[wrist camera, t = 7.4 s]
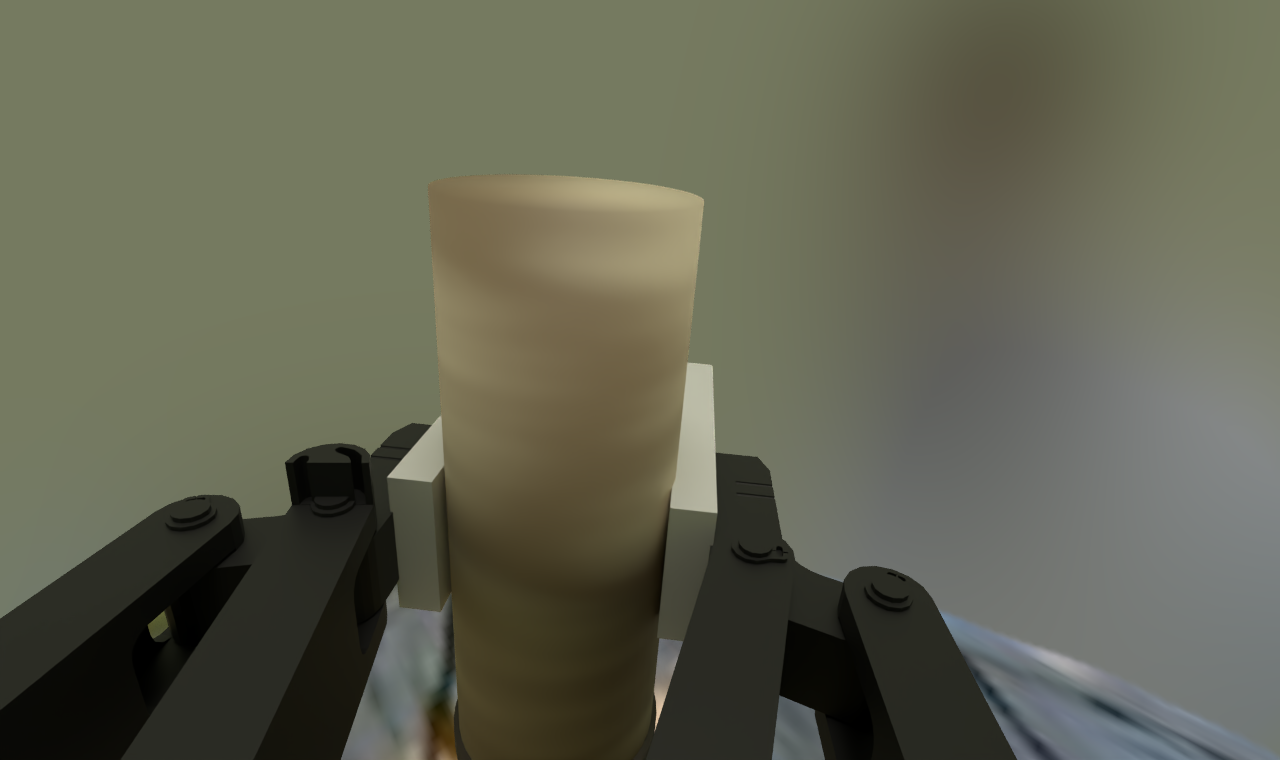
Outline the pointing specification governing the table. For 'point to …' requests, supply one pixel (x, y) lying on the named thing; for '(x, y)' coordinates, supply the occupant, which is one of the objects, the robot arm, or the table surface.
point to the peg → (559, 451)
